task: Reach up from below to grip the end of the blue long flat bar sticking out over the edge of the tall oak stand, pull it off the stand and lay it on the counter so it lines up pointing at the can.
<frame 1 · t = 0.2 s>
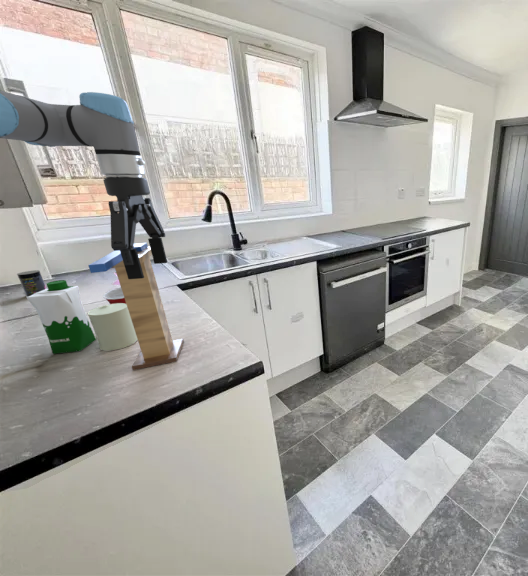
hand: (149, 270, 74), 27 cm above the countertop, tool pointing down, fingers open, 13 cm apart
supplement container: (37, 295, 138), on the countertop
can: (119, 343, 95), on the countertop
lily: (131, 290, 143), on the countertop
milk carton: (75, 347, 93), on the countertop
blue long flat bar: (123, 256, 74), point 30 cm above the countertop, touching stand
stand: (156, 363, 84), on the countertop
plastic cup: (133, 322, 109), on the countertop
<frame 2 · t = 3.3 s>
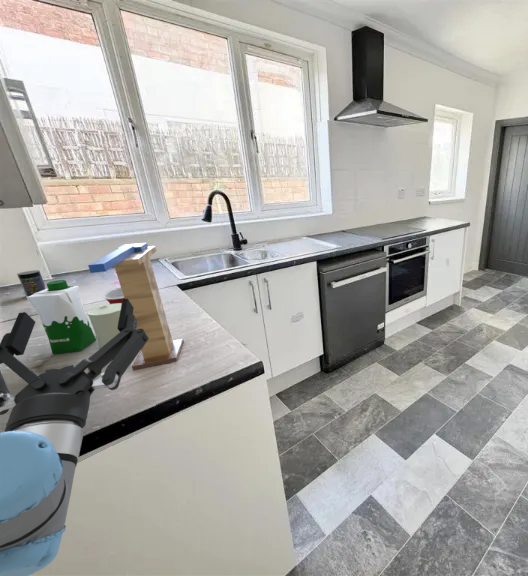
hand: (80, 309, 54), 26 cm above the countertop, tool pointing upward, fingers open, 13 cm apart
nothing on the countertop moved.
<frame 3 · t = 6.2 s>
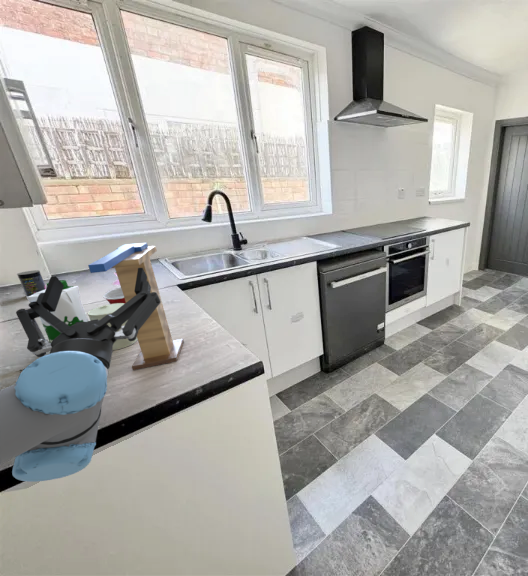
hand: (101, 276, 62), 29 cm above the countertop, tool pointing upward, fingers open, 13 cm apart
nothing on the countertop moved.
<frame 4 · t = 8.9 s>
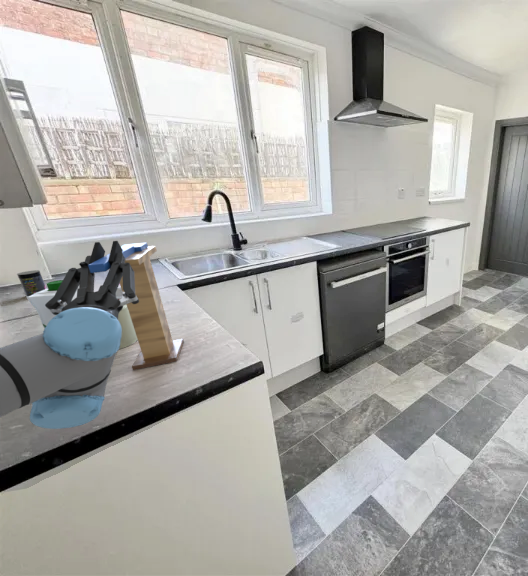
hand: (109, 246, 67), 34 cm above the countertop, tool pointing upward, fingers closed on blue long flat bar, 2 cm apart
blue long flat bar: (123, 256, 74), point 30 cm above the countertop, touching gripper, stand
everything else where it was.
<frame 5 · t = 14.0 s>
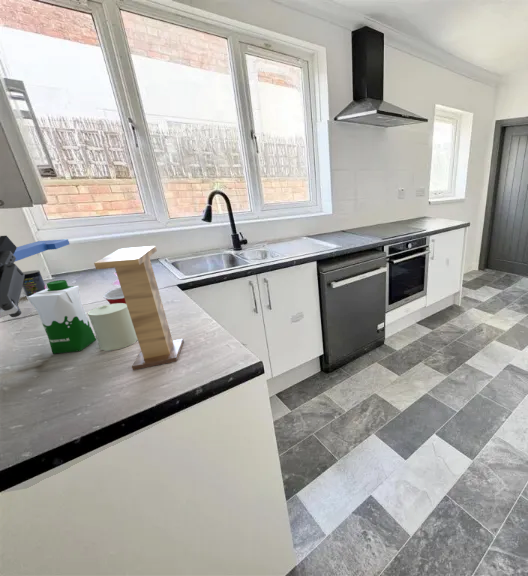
blue long flat bar: (26, 255, 60), point 34 cm above the countertop, touching gripper
everything else where it was.
when the fingers open (21 cm above the countertop, at t = 18.9 s): blue long flat bar drops 17 cm, on the countertop.
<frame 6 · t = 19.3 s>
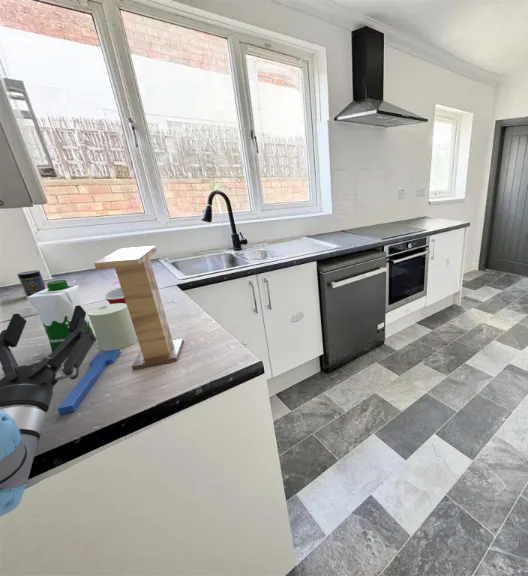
hand: (51, 313, 66), 20 cm above the countertop, tool pointing upward, fingers open, 9 cm apart
blue long flat bar: (94, 375, 79), on the countertop
everything else where it was.
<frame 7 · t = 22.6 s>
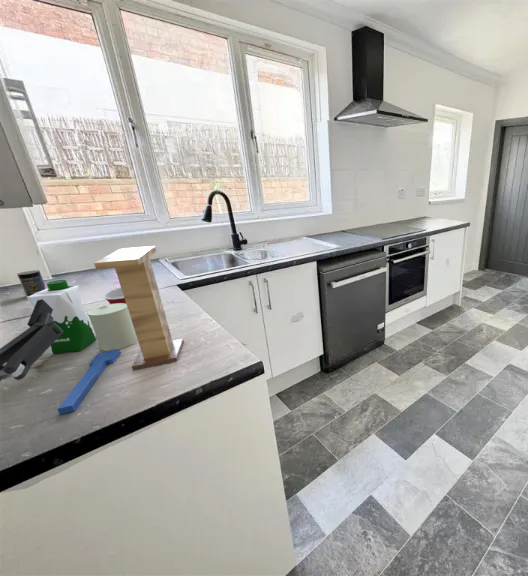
nothing on the countertop moved.
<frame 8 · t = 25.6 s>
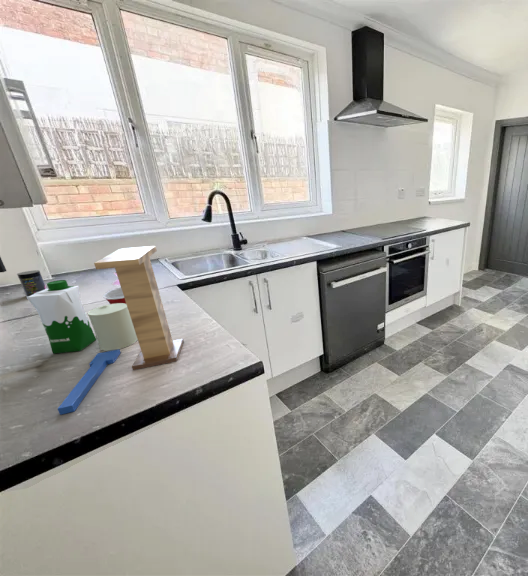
nothing on the countertop moved.
at the end: blue long flat bar inside the target area on the countertop beside the can (0.4 cm from its centre), on the countertop; blue long flat bar tilted 0°; the gripper is holding nothing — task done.
